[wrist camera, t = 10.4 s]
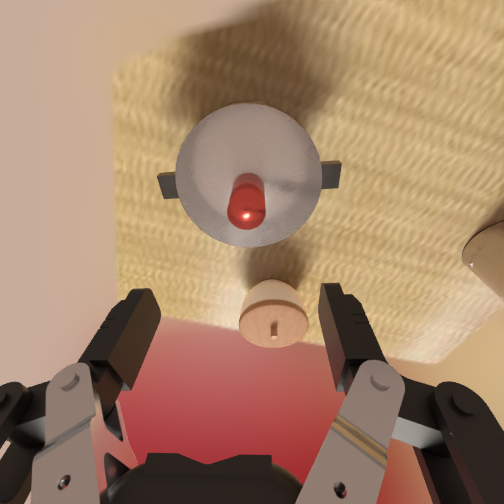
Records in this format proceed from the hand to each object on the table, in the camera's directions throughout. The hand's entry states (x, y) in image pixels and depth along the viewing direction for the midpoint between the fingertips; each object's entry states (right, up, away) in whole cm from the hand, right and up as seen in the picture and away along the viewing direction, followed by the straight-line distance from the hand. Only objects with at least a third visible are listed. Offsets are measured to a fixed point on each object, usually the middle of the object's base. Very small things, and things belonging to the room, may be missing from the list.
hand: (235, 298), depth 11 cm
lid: (+1, +9, +13) cm, 16 cm away
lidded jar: (+4, -5, +32) cm, 33 cm away
